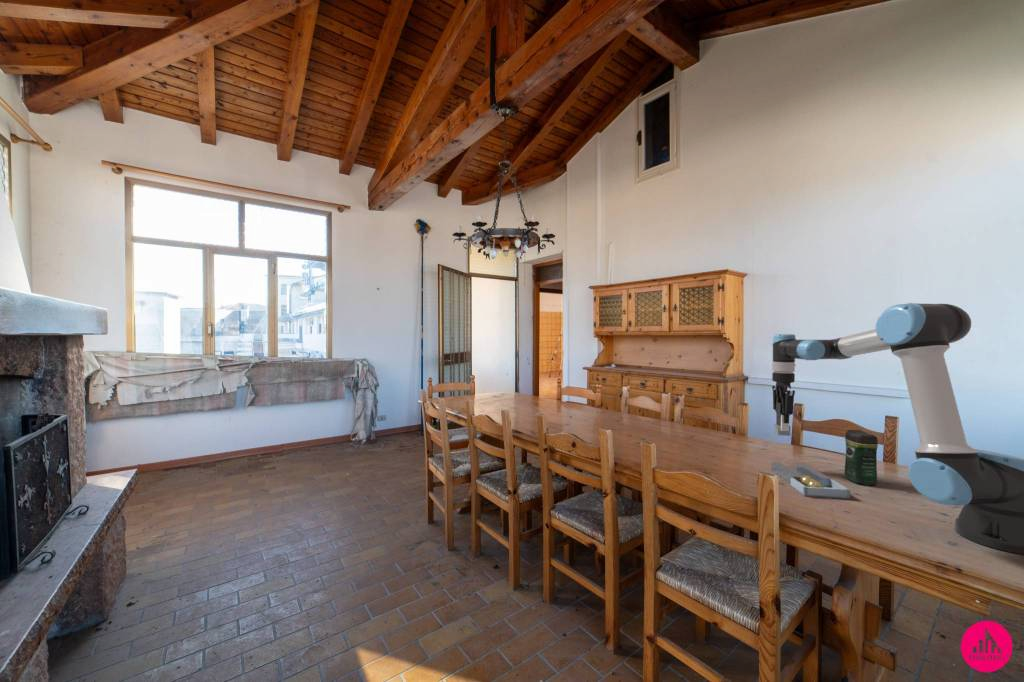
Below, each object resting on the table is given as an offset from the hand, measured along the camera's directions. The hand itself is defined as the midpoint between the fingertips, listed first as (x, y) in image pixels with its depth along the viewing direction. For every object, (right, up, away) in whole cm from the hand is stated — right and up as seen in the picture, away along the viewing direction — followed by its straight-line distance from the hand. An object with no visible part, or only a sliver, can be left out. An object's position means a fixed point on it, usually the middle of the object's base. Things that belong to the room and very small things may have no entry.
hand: (782, 429), depth 164 cm
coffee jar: (+19, -16, -15) cm, 29 cm away
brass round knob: (-6, -14, -21) cm, 26 cm away
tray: (-4, -16, -25) cm, 30 cm away
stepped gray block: (0, -2, 0) cm, 2 cm away
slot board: (-2, -16, -12) cm, 20 cm away
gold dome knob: (-7, -14, -25) cm, 29 cm away
